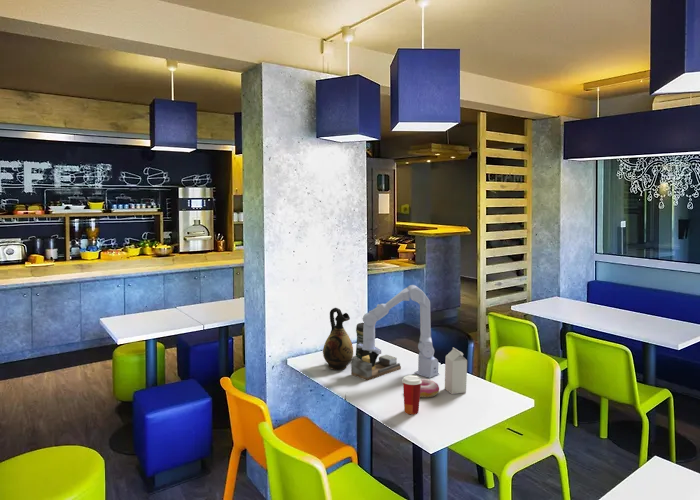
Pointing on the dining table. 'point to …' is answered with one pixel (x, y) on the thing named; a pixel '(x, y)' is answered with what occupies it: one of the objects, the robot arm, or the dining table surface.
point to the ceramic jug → (338, 343)
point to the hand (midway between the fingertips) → (368, 365)
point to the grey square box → (387, 360)
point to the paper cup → (411, 394)
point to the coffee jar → (359, 338)
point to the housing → (367, 360)
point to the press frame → (370, 369)
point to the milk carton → (455, 372)
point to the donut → (428, 388)
